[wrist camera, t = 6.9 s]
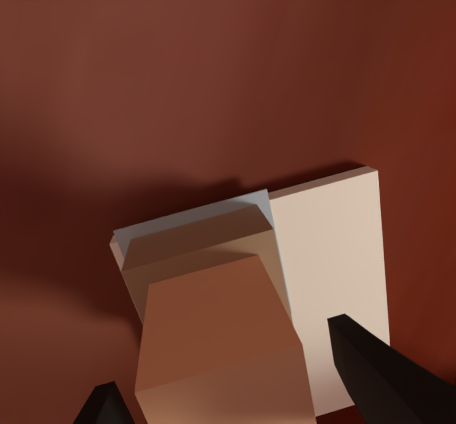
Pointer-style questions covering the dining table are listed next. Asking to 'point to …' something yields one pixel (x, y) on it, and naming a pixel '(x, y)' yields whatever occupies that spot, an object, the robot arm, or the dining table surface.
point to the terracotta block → (221, 351)
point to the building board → (281, 259)
